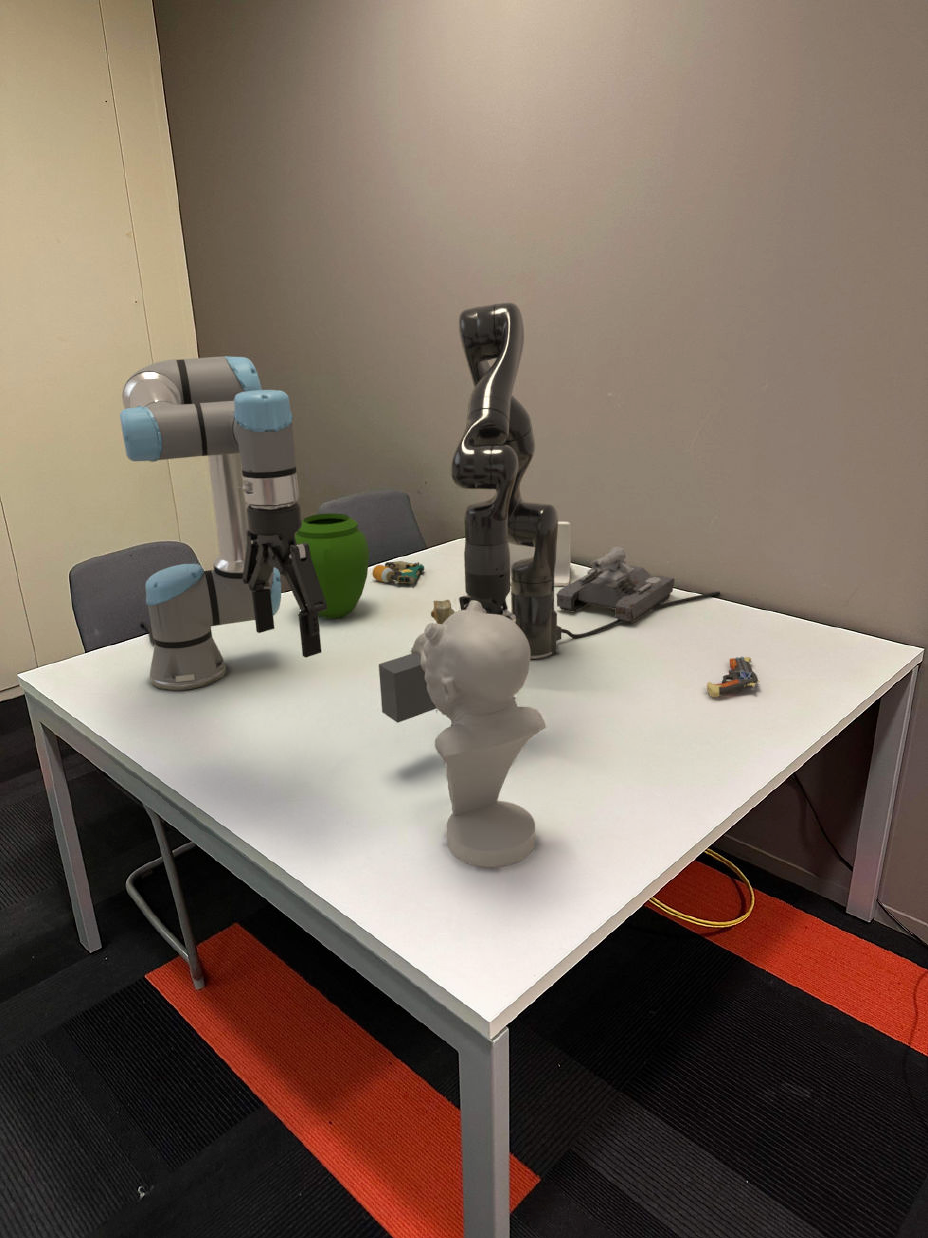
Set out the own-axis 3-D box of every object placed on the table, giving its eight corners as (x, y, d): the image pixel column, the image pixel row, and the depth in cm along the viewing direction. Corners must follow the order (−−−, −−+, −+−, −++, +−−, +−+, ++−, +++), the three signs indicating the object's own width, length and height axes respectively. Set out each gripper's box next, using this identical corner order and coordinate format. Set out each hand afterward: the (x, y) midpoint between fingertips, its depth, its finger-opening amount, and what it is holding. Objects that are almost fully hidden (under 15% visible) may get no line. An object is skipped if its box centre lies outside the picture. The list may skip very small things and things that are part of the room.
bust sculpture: (481, 772, 140) (476, 569, 128) (565, 848, 120) (569, 617, 108) (392, 800, 134) (378, 588, 121) (465, 886, 114) (457, 642, 101)
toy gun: (708, 687, 162) (763, 684, 160) (700, 655, 180) (750, 652, 178) (709, 701, 163) (764, 698, 161) (701, 667, 181) (750, 664, 179)
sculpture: (458, 662, 183) (456, 596, 178) (460, 676, 176) (457, 608, 171) (431, 663, 183) (428, 597, 177) (431, 677, 176) (428, 609, 171)
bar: (499, 670, 153) (498, 626, 149) (516, 679, 149) (515, 633, 146) (382, 712, 139) (378, 664, 136) (397, 723, 136) (394, 673, 133)
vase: (389, 608, 216) (383, 514, 208) (339, 633, 201) (330, 533, 192) (330, 596, 226) (322, 506, 218) (278, 619, 211) (267, 523, 202)
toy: (603, 584, 229) (605, 530, 224) (673, 597, 218) (677, 540, 213) (555, 612, 210) (556, 553, 205) (630, 627, 199) (633, 566, 194)
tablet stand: (569, 585, 229) (570, 524, 223) (476, 584, 232) (475, 523, 226) (570, 566, 246) (571, 508, 240) (484, 564, 249) (483, 507, 243)
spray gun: (392, 568, 251) (438, 575, 245) (363, 581, 236) (410, 589, 230) (392, 554, 249) (438, 561, 243) (362, 567, 235) (411, 574, 229)
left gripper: (208, 495, 128) (226, 627, 135) (295, 523, 110) (310, 673, 117) (253, 487, 132) (268, 615, 140) (344, 512, 115) (355, 658, 122)
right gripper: (443, 561, 144) (447, 653, 151) (496, 581, 134) (498, 680, 140) (479, 552, 148) (481, 642, 155) (532, 571, 138) (533, 667, 144)
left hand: (288, 642), depth 129 cm, fingers open, 13 cm apart
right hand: (489, 659), depth 147 cm, fingers closed on bar, 4 cm apart
